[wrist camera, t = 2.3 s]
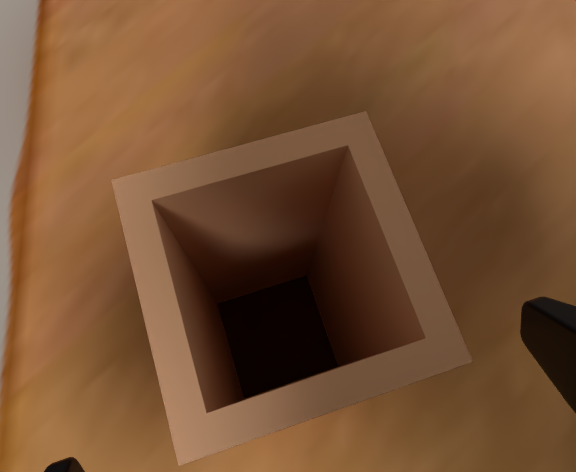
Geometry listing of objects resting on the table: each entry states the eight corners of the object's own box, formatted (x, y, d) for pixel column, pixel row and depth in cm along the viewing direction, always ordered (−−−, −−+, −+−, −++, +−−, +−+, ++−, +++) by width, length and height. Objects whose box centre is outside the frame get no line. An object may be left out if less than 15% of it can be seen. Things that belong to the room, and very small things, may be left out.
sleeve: (357, 377, 18) (473, 361, 8) (233, 419, 18) (178, 466, 7) (315, 257, 20) (366, 110, 9) (198, 294, 19) (111, 180, 9)
